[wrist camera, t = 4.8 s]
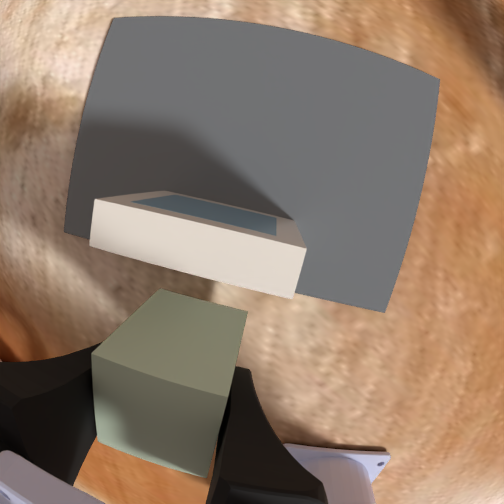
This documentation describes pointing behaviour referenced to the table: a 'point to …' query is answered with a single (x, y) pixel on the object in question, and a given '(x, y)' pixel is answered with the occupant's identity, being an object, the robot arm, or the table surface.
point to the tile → (202, 239)
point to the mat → (264, 139)
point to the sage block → (167, 380)
